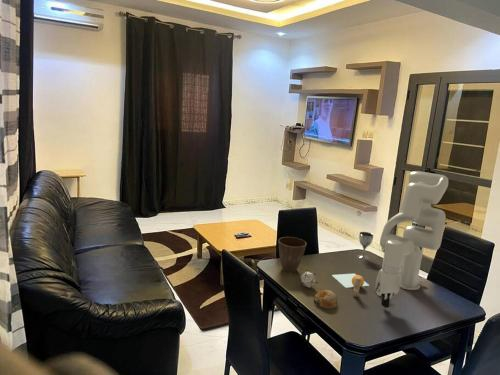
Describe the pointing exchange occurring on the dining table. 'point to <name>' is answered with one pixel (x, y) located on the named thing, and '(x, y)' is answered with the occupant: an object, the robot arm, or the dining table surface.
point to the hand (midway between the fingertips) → (384, 306)
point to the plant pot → (291, 252)
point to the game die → (308, 279)
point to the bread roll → (326, 299)
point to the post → (356, 286)
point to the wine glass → (365, 242)
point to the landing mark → (347, 280)
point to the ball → (360, 281)
